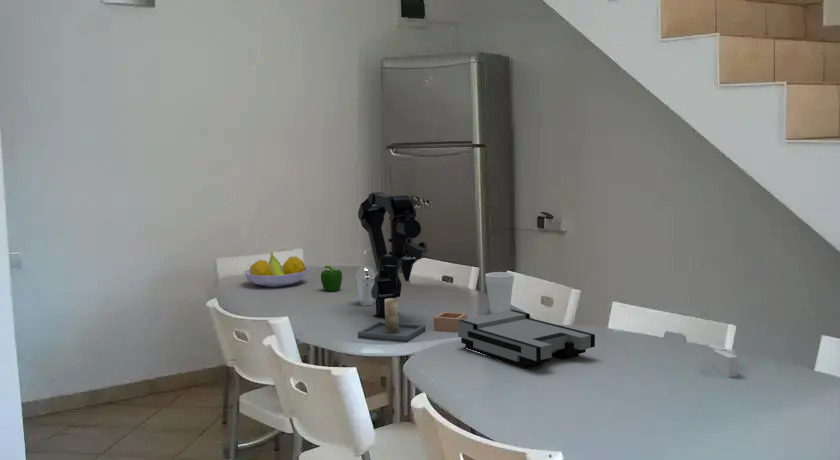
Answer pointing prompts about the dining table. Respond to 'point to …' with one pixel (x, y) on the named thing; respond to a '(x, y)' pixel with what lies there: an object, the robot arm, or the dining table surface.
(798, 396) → the dining table surface
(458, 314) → the terracotta square frame
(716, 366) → the napkin holder
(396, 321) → the dowel pin
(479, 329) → the game console
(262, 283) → the fruit bowl
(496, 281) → the foam cup
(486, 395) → the dining table surface
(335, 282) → the bell pepper
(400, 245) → the robot arm
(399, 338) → the charcoal tray
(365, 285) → the cup with straw
